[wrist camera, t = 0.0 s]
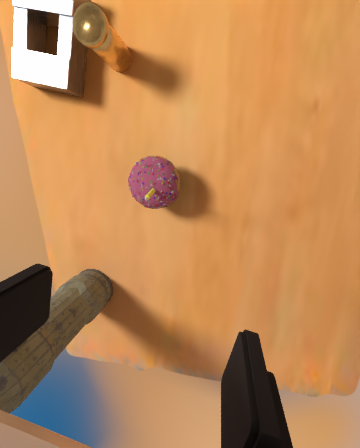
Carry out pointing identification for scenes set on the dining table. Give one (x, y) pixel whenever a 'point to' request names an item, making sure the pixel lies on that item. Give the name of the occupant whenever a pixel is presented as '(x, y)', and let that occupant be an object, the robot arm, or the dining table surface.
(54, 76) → the jig
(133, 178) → the cupcake
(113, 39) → the brass capped cylinder
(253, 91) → the dining table surface
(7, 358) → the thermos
